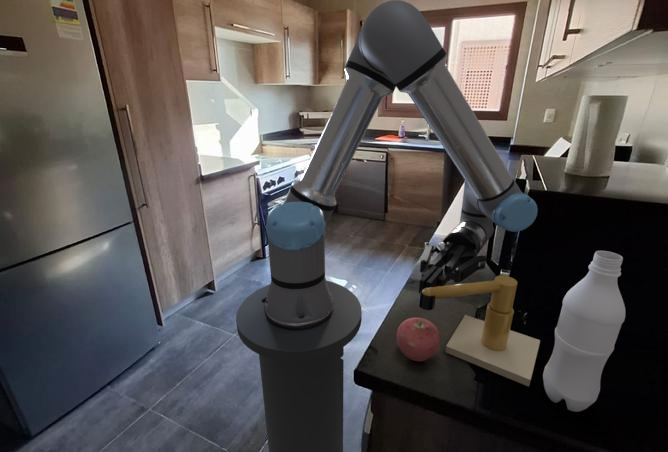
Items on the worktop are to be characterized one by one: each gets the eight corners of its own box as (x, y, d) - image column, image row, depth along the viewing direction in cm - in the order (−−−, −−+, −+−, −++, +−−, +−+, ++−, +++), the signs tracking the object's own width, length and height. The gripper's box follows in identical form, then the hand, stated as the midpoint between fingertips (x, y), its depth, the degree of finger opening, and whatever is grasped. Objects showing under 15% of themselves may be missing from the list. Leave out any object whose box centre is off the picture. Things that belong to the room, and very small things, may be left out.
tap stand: (445, 352, 64) (450, 310, 61) (464, 320, 73) (470, 283, 70) (529, 387, 56) (540, 341, 53) (538, 346, 65) (549, 305, 62)
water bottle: (537, 374, 59) (572, 241, 50) (588, 388, 56) (634, 249, 47) (541, 406, 53) (581, 261, 44) (597, 424, 50) (653, 272, 41)
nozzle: (503, 300, 63) (508, 274, 61) (516, 311, 60) (522, 284, 58) (414, 311, 60) (416, 284, 58) (423, 323, 57) (425, 295, 55)
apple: (446, 361, 62) (451, 324, 59) (414, 376, 58) (418, 338, 56) (418, 337, 68) (421, 303, 65) (388, 350, 65) (390, 314, 62)
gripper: (493, 265, 74) (461, 320, 56) (433, 251, 82) (388, 295, 64) (498, 234, 72) (467, 280, 54) (436, 222, 79) (390, 259, 61)
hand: (424, 288), depth 59 cm, fingers closed
